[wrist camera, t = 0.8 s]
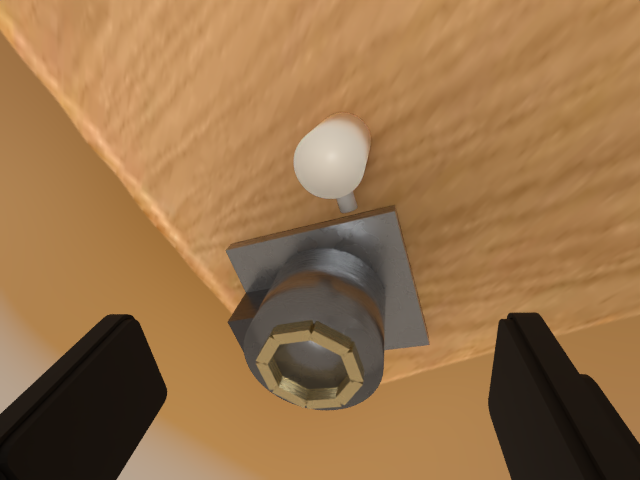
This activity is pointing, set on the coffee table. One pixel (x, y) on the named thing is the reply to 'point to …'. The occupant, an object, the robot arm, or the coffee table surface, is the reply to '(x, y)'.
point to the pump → (334, 158)
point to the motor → (326, 307)
